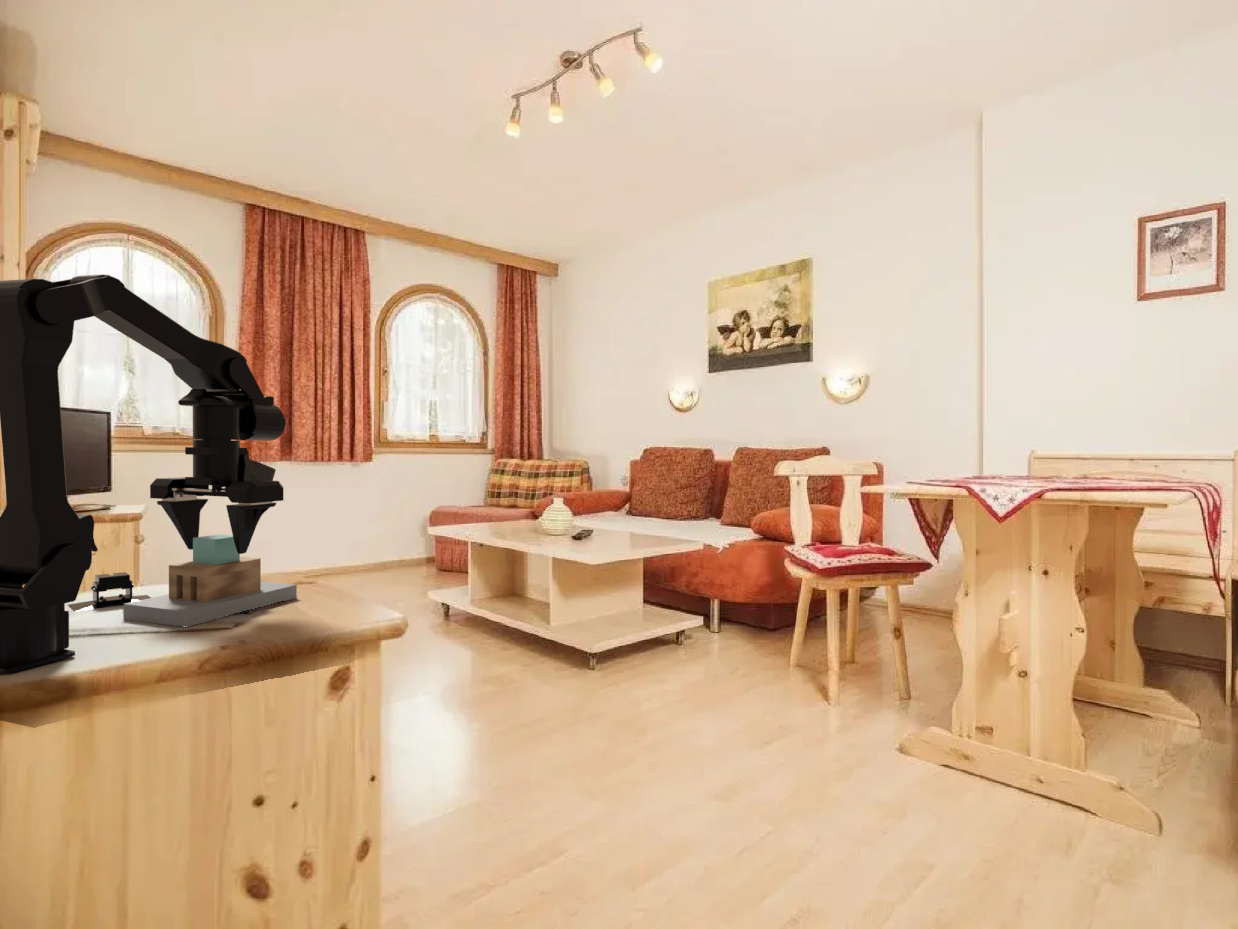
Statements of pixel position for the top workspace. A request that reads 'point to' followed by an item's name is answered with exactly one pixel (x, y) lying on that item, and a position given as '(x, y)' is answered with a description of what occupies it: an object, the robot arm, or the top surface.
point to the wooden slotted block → (214, 579)
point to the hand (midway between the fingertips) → (216, 551)
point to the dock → (205, 606)
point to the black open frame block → (107, 583)
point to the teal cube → (214, 549)
